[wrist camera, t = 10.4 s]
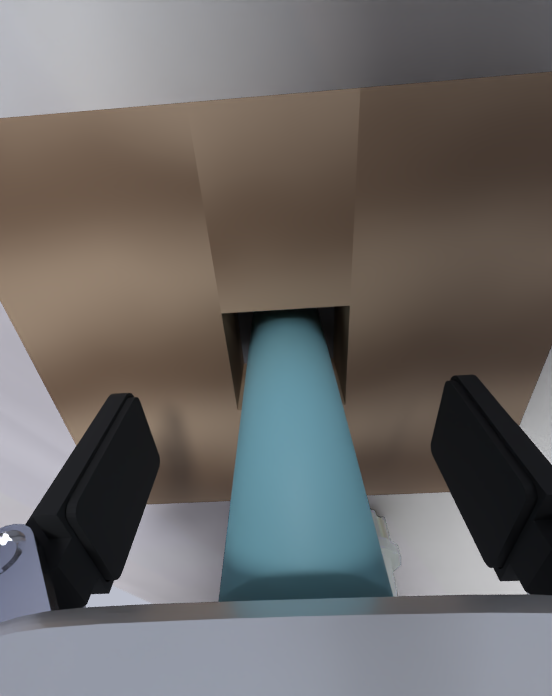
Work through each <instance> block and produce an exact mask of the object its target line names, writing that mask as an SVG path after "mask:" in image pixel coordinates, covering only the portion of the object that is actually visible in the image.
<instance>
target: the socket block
mask: <svg viewBox="0 0 552 696" xmlns="http://www.w3.org/2000/svg"><path fill="white" fill-rule="evenodd" d="M0 301H1V303H2V305H3V307H4V309H5V311H6V313H7V314H8V316H9V318H10V320H11V322H12V324H13V326H14V328H15V330H16V332H17V333H18V335H19V337H20V339H21V341H22V343H23V345H24V347H25V349H26V351H27V352H28V354H29V356H30V358H31V360H32V362H33V364H34V366H35V368H36V370H37V372H38V373H39V375H40V377H41V379H42V381H43V383H44V385H45V387H46V389H47V391H48V392H49V394H50V396H51V398H52V400H53V402H54V404H55V406H56V408H57V410H58V411H59V413H60V415H61V417H62V419H63V421H64V423H65V425H66V427H67V429H68V430H69V432H70V434H71V436H72V438H73V440H74V442H75V444H76V446H77V444H78V443H79V441H80V440H81V438H82V437H83V435H84V434H85V432H86V431H87V429H88V427H89V426H90V424H91V423H92V421H93V420H94V418H95V417H96V415H97V414H98V412H99V410H100V409H101V407H102V406H103V404H104V403H105V401H106V400H107V398H108V397H109V396H110V395H111V394H115V393H132V394H133V396H134V397H138V398H139V400H140V402H141V405H142V408H143V411H144V413H145V416H146V419H147V422H148V425H149V428H150V430H151V433H152V436H153V439H154V442H155V444H156V447H157V450H158V453H159V456H160V467H159V470H158V473H157V476H156V478H155V481H154V484H153V487H152V490H151V492H150V495H149V498H148V501H147V504H169V503H193V502H217V501H231V494H232V485H233V477H234V468H235V460H236V452H237V443H238V435H239V427H240V418H241V410H242V402H243V393H244V385H245V377H246V368H247V360H248V351H249V343H250V335H251V326H252V318H253V313H254V311H269V310H285V309H301V308H317V310H318V314H319V317H320V321H321V325H322V329H323V333H324V336H325V340H326V344H327V348H328V351H329V355H330V359H331V363H332V366H333V370H334V374H335V378H336V382H337V385H338V389H339V393H340V397H341V400H342V404H343V408H344V412H345V416H346V419H347V423H348V427H349V431H350V434H351V438H352V442H353V446H354V450H355V453H356V457H357V461H358V465H359V468H360V472H361V476H362V480H363V484H364V487H365V491H366V495H389V494H413V493H438V492H450V490H449V488H448V486H447V484H446V482H445V480H444V478H443V476H442V474H441V472H440V470H439V468H438V466H437V464H436V462H435V460H434V458H433V456H432V453H431V440H432V436H433V432H434V427H435V423H436V419H437V414H438V410H439V406H440V402H441V397H442V393H443V389H444V385H445V382H446V381H450V379H451V377H452V376H454V375H472V374H473V375H476V376H477V377H478V378H479V380H480V381H481V382H482V383H483V384H484V386H485V387H486V388H487V389H488V390H489V391H490V393H491V394H492V395H493V396H494V397H495V399H496V400H497V401H498V402H499V403H500V405H501V406H502V407H503V408H504V409H505V411H506V412H507V413H508V414H509V415H510V417H511V418H512V419H513V420H514V421H515V422H516V423H517V424H518V425H520V422H521V420H522V417H523V415H524V413H525V410H526V408H527V405H528V403H529V400H530V398H531V395H532V393H533V391H534V388H535V386H536V383H537V381H538V378H539V376H540V373H541V371H542V368H543V366H544V364H545V361H546V359H547V356H548V354H549V351H550V349H551V346H552V72H541V73H529V74H517V75H505V76H494V77H482V78H470V79H458V80H446V81H435V82H423V83H411V84H399V85H387V86H376V87H364V88H352V89H340V90H328V91H317V92H305V93H293V94H281V95H269V96H258V97H246V98H234V99H222V100H210V101H199V102H187V103H175V104H163V105H151V106H140V107H128V108H116V109H104V110H92V111H80V112H69V113H57V114H45V115H33V116H21V117H10V118H0Z"/></svg>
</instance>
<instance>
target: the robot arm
mask: <svg viewBox="0 0 552 696" xmlns="http://www.w3.org/2000/svg"><path fill="white" fill-rule="evenodd" d="M431 453H432V456H433V458H434V460H435V462H436V464H437V466H438V468H439V470H440V472H441V474H442V476H443V478H444V480H445V482H446V484H447V486H448V488H449V490H450V492H451V495H452V497H453V499H454V501H455V503H456V505H457V507H458V509H459V511H460V513H461V515H462V517H463V519H464V521H465V523H466V525H467V527H468V529H469V531H470V533H471V535H472V537H473V540H474V542H475V544H476V546H477V548H478V550H479V552H480V554H481V556H482V558H483V560H484V562H485V563H486V565H487V566H488V567H490V568H494V570H495V572H496V574H497V576H498V578H499V580H500V581H520V583H521V584H522V586H523V588H524V590H525V591H526V592H527V595H442V596H402V597H361V598H327V599H293V600H260V601H229V602H201V603H173V604H145V605H125V606H106V607H88V608H86V606H85V605H86V604H87V602H88V600H89V597H90V595H91V594H105V593H109V592H110V590H111V587H112V584H113V581H114V580H117V579H119V577H120V576H121V574H122V571H123V568H124V566H125V563H126V560H127V557H128V554H129V551H130V549H131V546H132V543H133V540H134V537H135V535H136V532H137V529H138V526H139V523H140V521H141V518H142V515H143V512H144V509H145V506H146V504H147V501H148V498H149V495H150V492H151V490H152V487H153V484H154V481H155V478H156V476H157V473H158V470H159V467H160V456H159V453H158V450H157V447H156V444H155V442H154V439H153V436H152V433H151V430H150V428H149V425H148V422H147V419H146V416H145V413H144V411H143V408H142V405H141V402H140V400H139V398H138V397H134V396H133V394H132V393H115V394H111V395H110V396H109V397H108V398H107V400H106V401H105V403H104V404H103V406H102V407H101V409H100V410H99V412H98V414H97V415H96V417H95V418H94V420H93V421H92V423H91V424H90V426H89V427H88V429H87V431H86V432H85V434H84V435H83V437H82V438H81V440H80V441H79V443H78V444H77V446H76V447H75V449H74V450H73V452H72V454H71V455H70V457H69V458H68V460H67V461H66V463H65V464H64V466H63V467H62V469H61V471H60V472H59V474H58V475H57V477H56V478H55V480H54V481H53V483H52V484H51V486H50V487H49V489H48V491H47V492H46V494H45V495H44V497H43V498H42V500H41V501H40V503H39V504H38V506H37V507H36V509H35V511H34V512H33V514H32V515H31V517H30V518H29V520H28V521H27V523H26V524H25V525H24V524H13V525H8V526H4V527H2V528H0V696H552V465H551V464H550V462H549V461H548V460H547V459H546V458H545V456H544V455H543V454H542V453H541V452H540V450H539V449H538V448H537V447H536V446H535V444H534V443H533V442H532V441H531V440H530V439H529V437H528V436H527V435H526V434H525V433H524V431H523V430H522V429H521V428H520V427H519V425H518V424H517V423H516V422H515V421H514V420H513V419H512V418H511V417H510V415H509V414H508V413H507V412H506V411H505V409H504V408H503V407H502V406H501V405H500V403H499V402H498V401H497V400H496V399H495V397H494V396H493V395H492V394H491V393H490V391H489V390H488V389H487V388H486V387H485V386H484V384H483V383H482V382H481V381H480V380H479V378H478V377H477V376H476V375H473V374H472V375H454V376H452V377H451V379H450V381H446V382H445V385H444V389H443V393H442V397H441V402H440V406H439V410H438V414H437V419H436V423H435V427H434V432H433V436H432V440H431Z"/></svg>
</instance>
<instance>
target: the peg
mask: <svg viewBox="0 0 552 696" xmlns="http://www.w3.org/2000/svg"><path fill="white" fill-rule="evenodd" d="M361 597H393V593H392V589H391V585H390V582H389V578H388V574H387V570H386V567H385V563H384V559H383V555H382V551H381V548H380V544H379V540H378V536H377V533H376V529H375V525H374V521H373V518H372V514H371V510H370V506H369V502H368V499H367V495H366V491H365V487H364V484H363V480H362V476H361V472H360V468H359V465H358V461H357V457H356V453H355V450H354V446H353V442H352V438H351V434H350V431H349V427H348V423H347V419H346V416H345V412H344V408H343V404H342V400H341V397H340V393H339V389H338V385H337V382H336V378H335V374H334V370H333V366H332V363H331V359H330V355H329V351H328V348H327V344H326V340H325V336H324V333H323V329H322V325H321V321H320V317H319V314H318V310H317V308H301V309H285V310H269V311H254V313H253V318H252V326H251V335H250V343H249V351H248V360H247V368H246V377H245V385H244V393H243V402H242V410H241V418H240V427H239V435H238V443H237V452H236V460H235V468H234V477H233V485H232V494H231V502H230V510H229V519H228V527H227V535H226V544H225V552H224V560H223V569H222V577H221V585H220V594H219V602H229V601H260V600H293V599H327V598H361Z"/></svg>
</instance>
